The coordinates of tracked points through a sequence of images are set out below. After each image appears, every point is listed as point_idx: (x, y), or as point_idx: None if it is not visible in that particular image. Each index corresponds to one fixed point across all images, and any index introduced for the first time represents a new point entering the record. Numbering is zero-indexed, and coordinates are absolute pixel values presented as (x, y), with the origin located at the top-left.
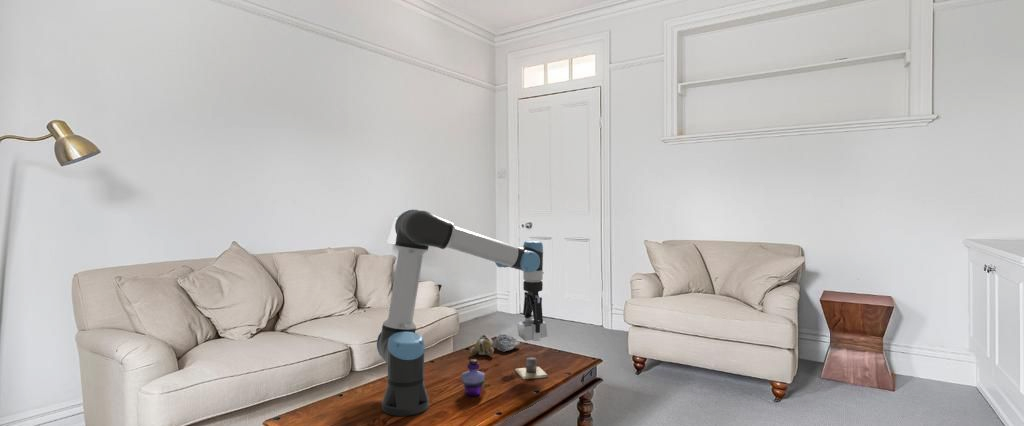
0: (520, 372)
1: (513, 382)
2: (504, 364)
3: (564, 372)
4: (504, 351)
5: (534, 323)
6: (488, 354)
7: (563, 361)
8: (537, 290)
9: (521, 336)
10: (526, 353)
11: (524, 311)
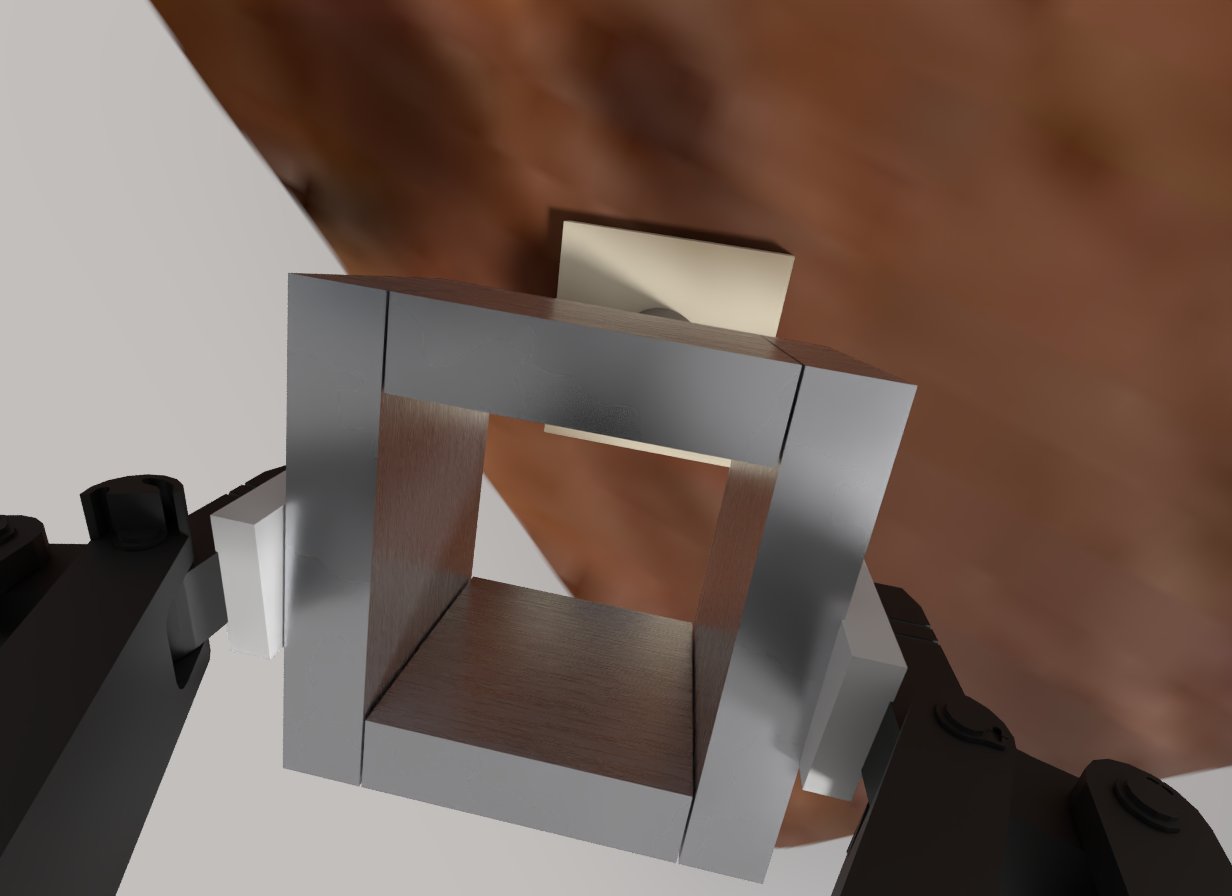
0: (673, 250)
1: (527, 97)
2: (1031, 244)
3: (598, 576)
4: None
5: (106, 508)
6: None
7: None
8: None
9: (643, 315)
10: (1188, 589)
11: (1123, 888)
